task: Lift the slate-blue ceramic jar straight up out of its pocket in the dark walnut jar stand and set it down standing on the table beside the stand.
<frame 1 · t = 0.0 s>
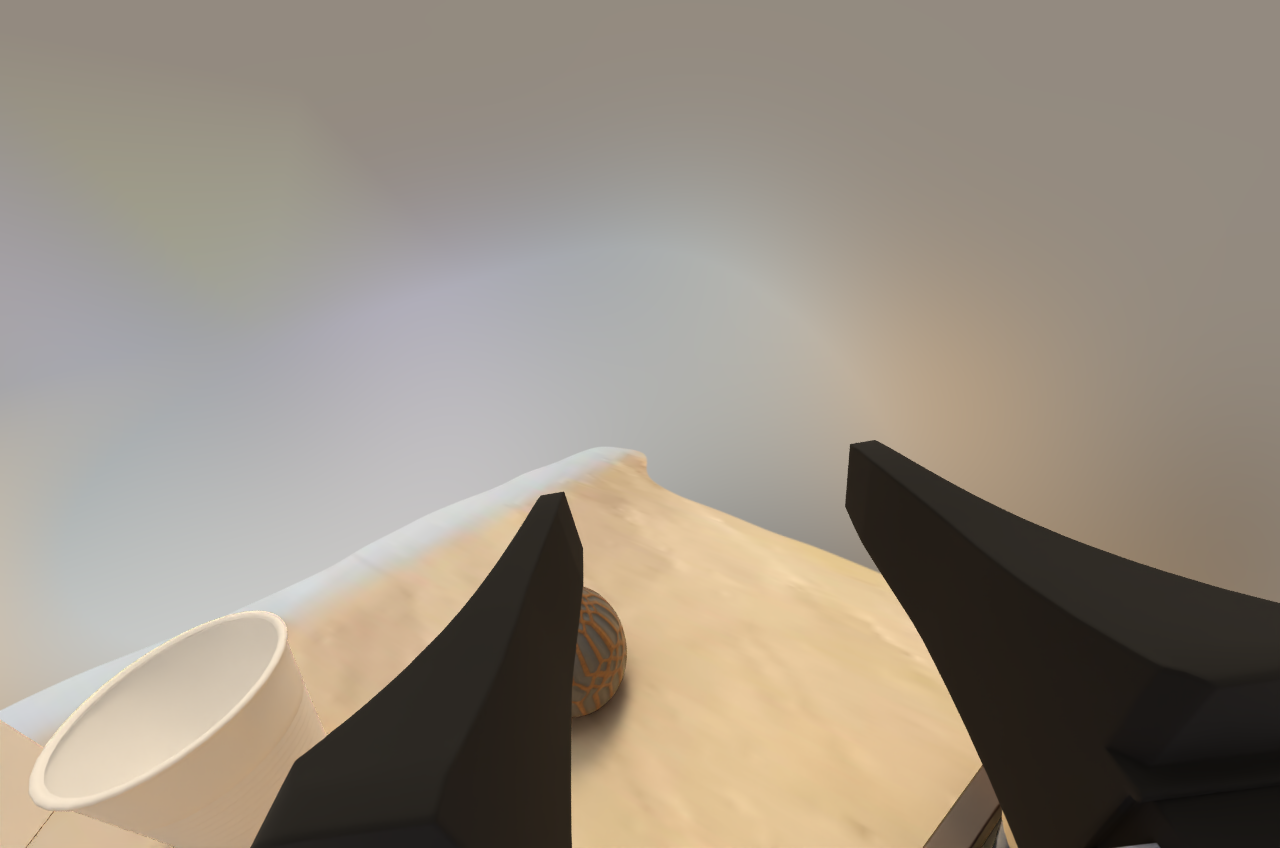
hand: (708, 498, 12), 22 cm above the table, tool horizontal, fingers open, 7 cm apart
cup: (286, 806, 28), on the table
vase: (585, 685, 32), on the table
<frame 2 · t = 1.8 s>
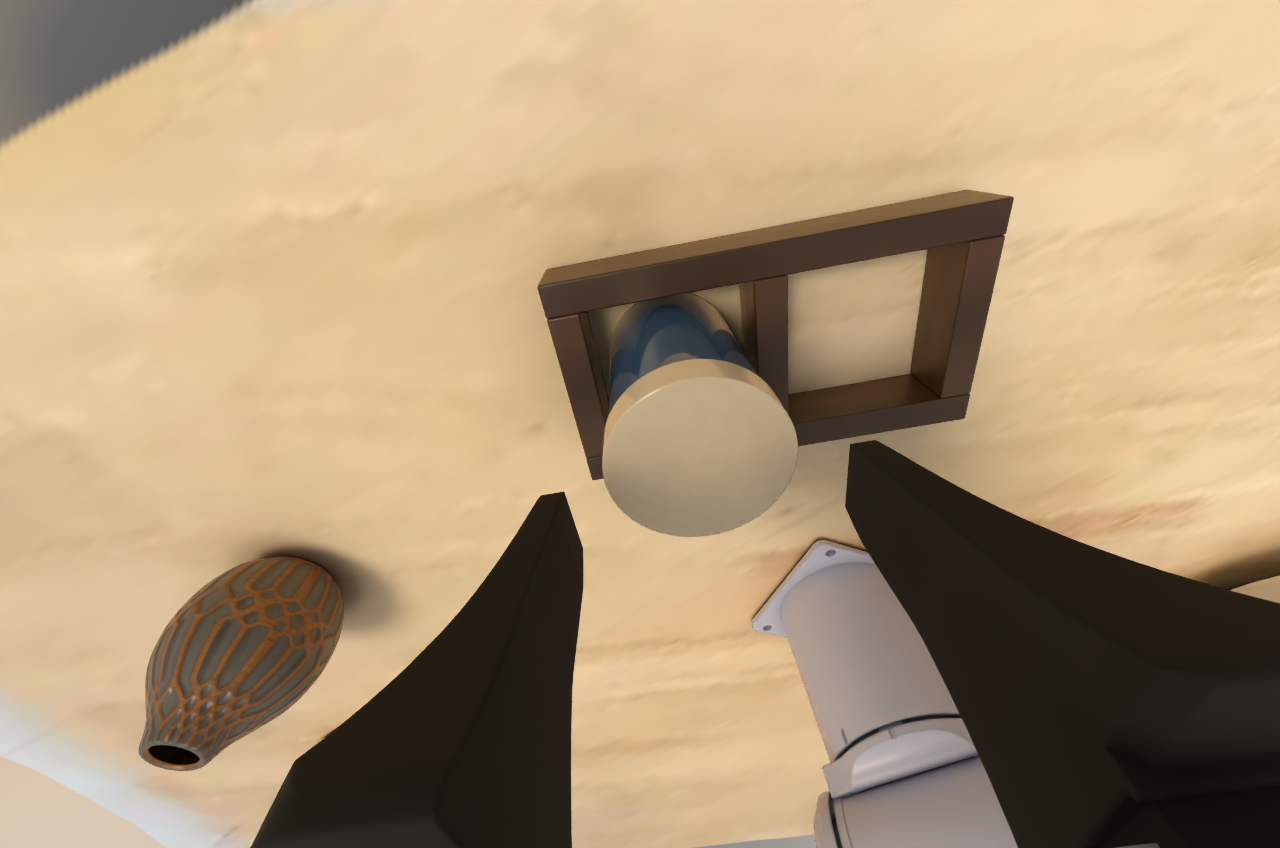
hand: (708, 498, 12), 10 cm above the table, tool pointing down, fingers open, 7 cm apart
vase: (299, 578, 26), on the table
serving bowl: (1213, 625, 33), on the table
jar stand: (756, 336, 20), on the table
jar: (670, 351, 20), resting in jar stand
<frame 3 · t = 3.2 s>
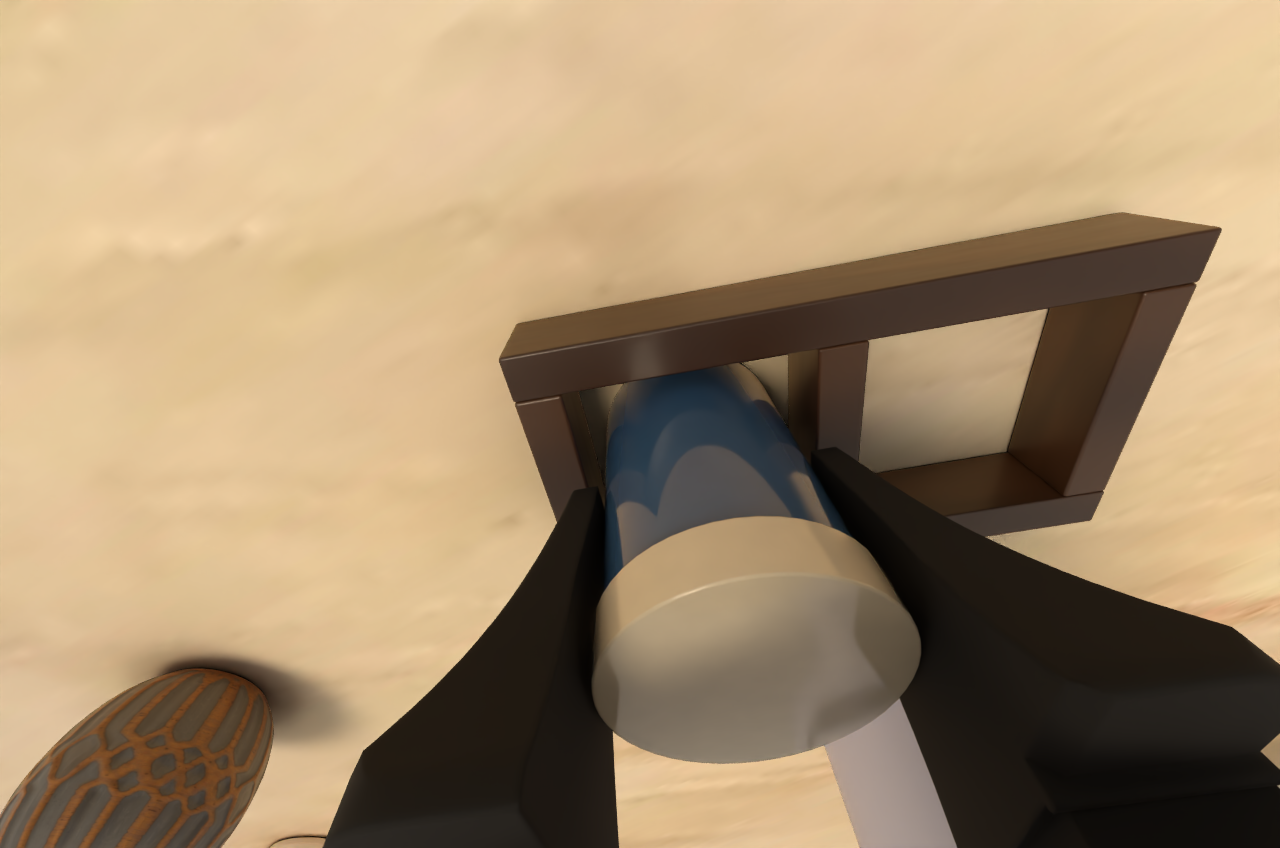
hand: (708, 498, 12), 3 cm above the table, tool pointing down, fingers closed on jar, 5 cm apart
vase: (220, 688, 21), on the table
jar stand: (806, 407, 15), on the table
jar: (689, 427, 15), resting in jar stand, touching gripper
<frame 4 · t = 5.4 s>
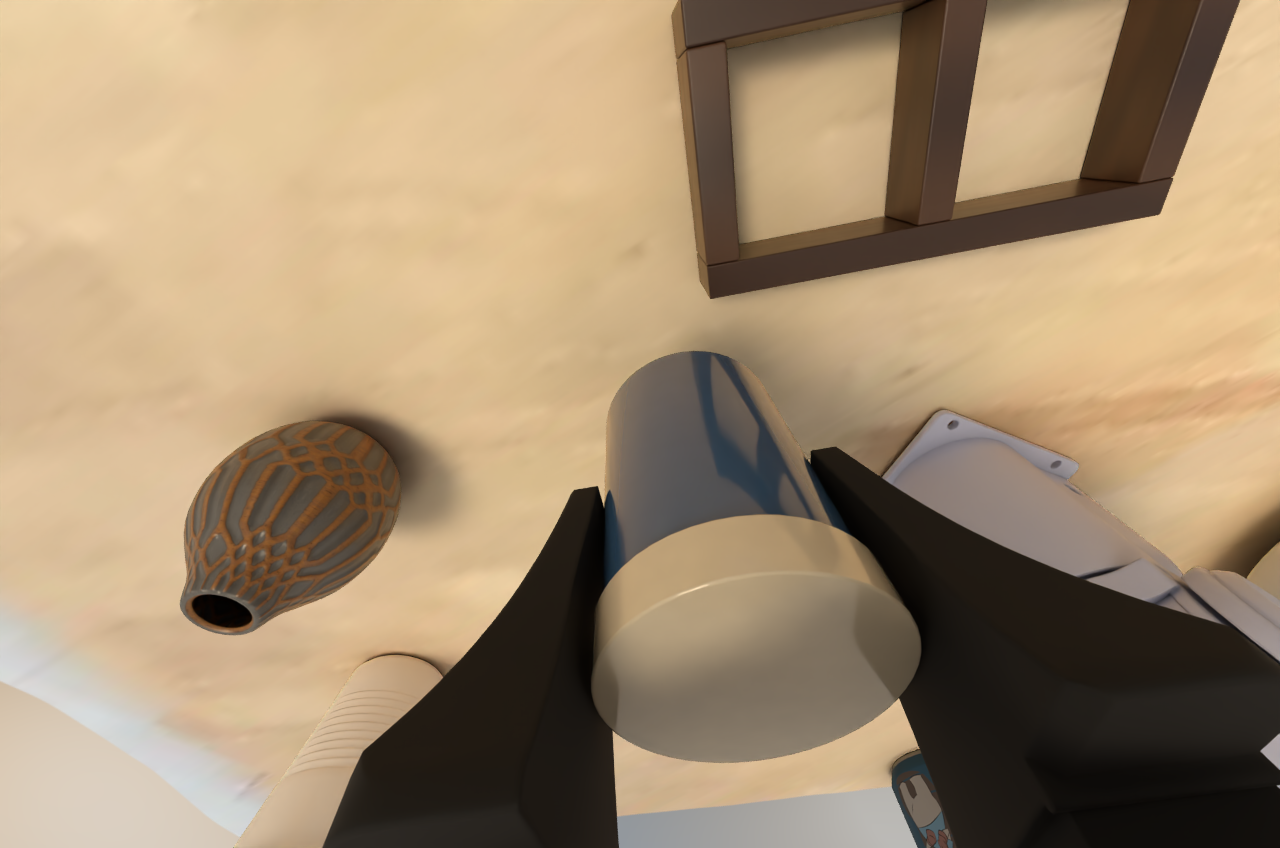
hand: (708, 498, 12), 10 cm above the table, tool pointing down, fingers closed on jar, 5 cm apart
cup: (403, 675, 33), on the table
vase: (348, 457, 23), on the table
soda can: (921, 760, 44), on the table
jar stand: (909, 120, 17), on the table
jar: (688, 427, 15), point 7 cm above the table, touching gripper
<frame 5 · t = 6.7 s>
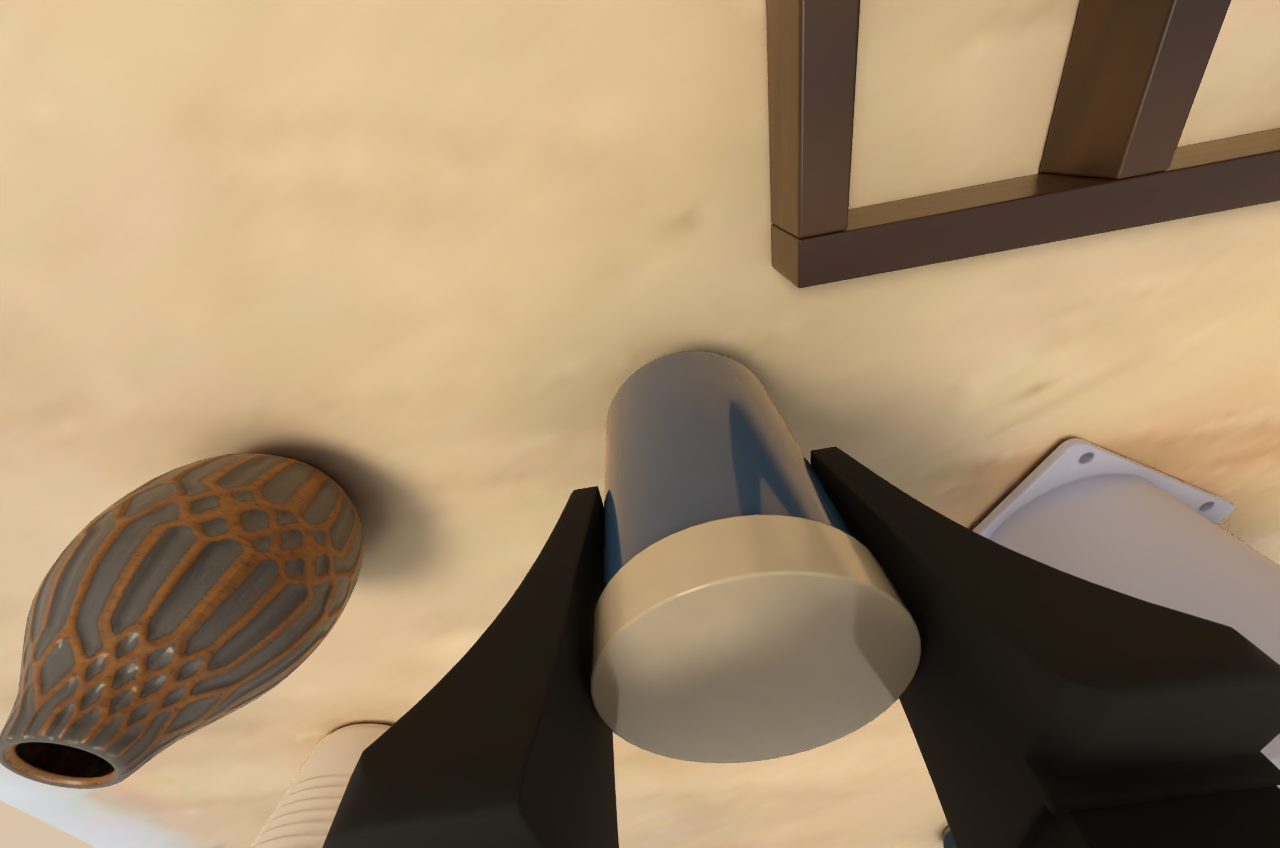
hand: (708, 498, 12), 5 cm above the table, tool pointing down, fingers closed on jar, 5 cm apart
cup: (379, 743, 27), on the table
vase: (297, 496, 18), on the table
jar stand: (1097, 25, 11), on the table
jar: (688, 427, 15), point 2 cm above the table, touching gripper
when the fingers open (3 cm above the table, at t = 7.8 s): jar stays where it is, on the table.
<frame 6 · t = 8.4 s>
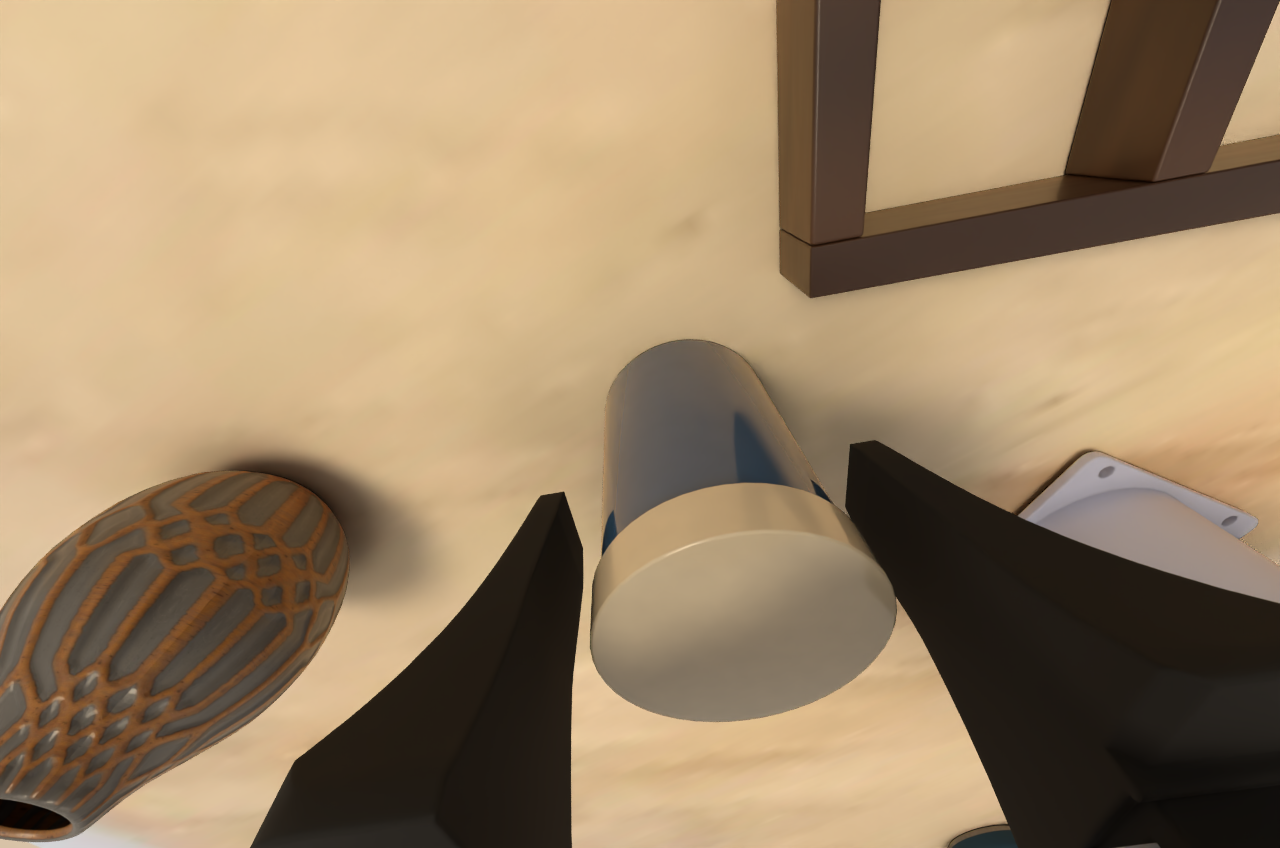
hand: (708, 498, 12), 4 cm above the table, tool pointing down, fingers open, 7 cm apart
vase: (280, 513, 17), on the table
soda can: (983, 836, 38), on the table
jar stand: (1131, 16, 11), on the table
jar: (684, 413, 15), on the table
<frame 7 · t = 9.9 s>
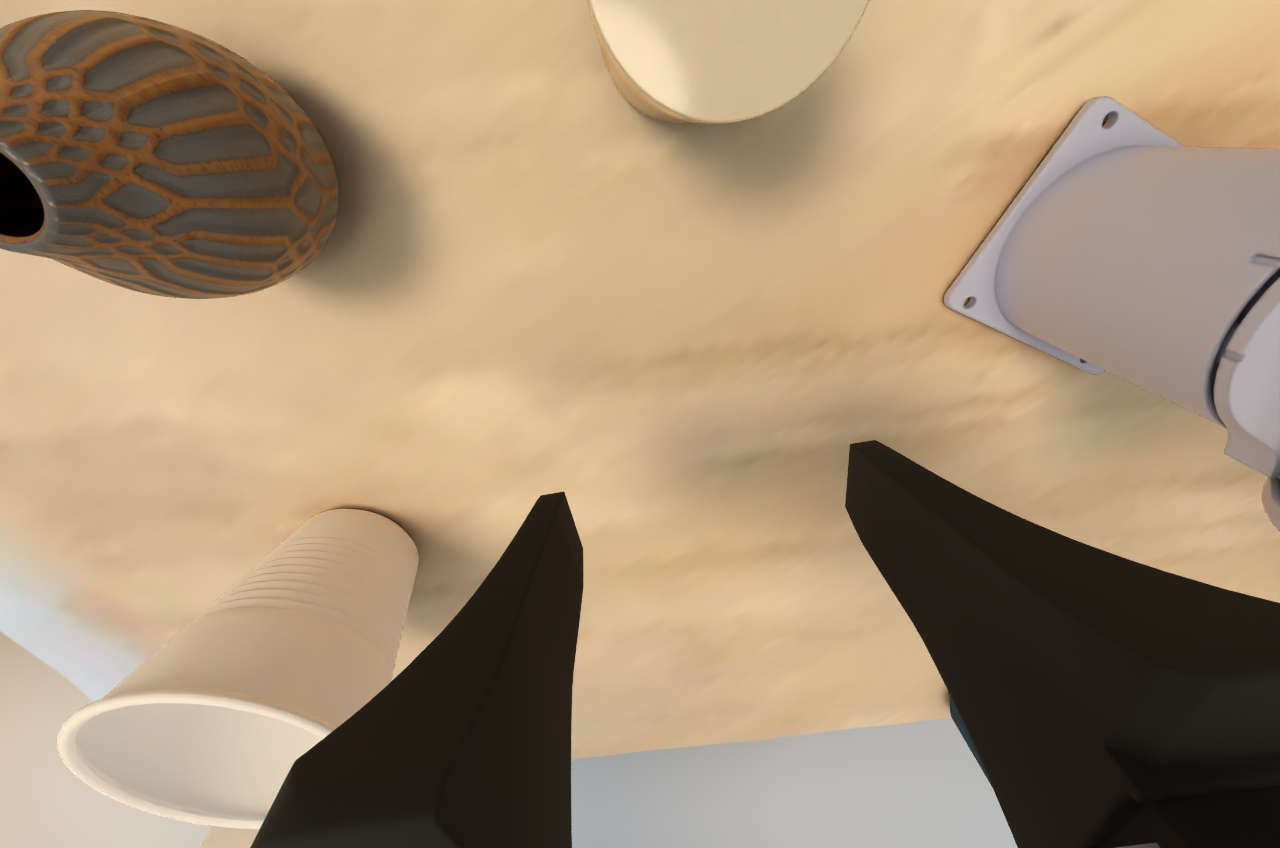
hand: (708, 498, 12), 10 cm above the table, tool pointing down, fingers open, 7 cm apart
cup: (365, 543, 26), on the table
vase: (269, 164, 17), on the table
soda can: (984, 683, 37), on the table
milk: (376, 741, 37), on the table
jar: (679, 27, 15), on the table
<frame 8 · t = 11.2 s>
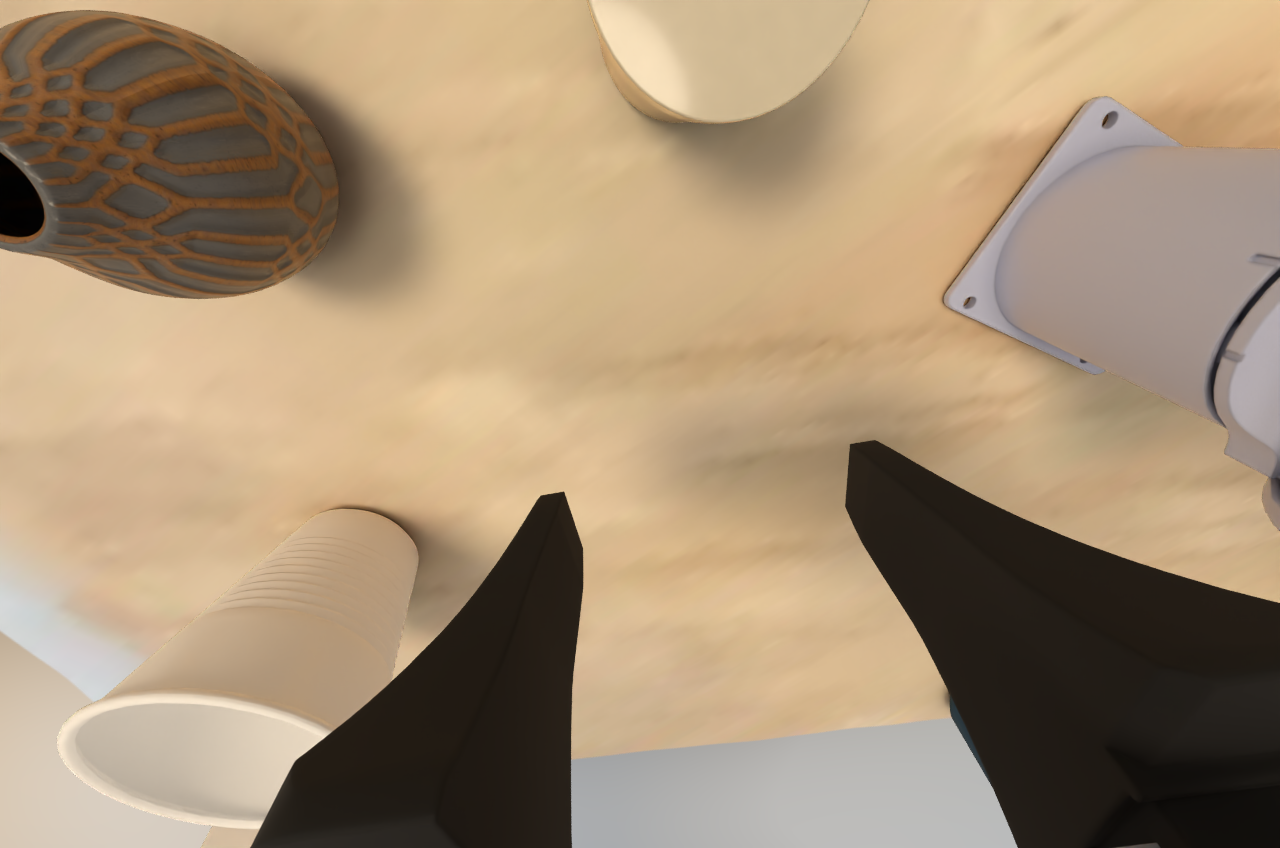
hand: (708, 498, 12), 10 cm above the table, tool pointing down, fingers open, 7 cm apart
cup: (365, 543, 26), on the table
vase: (269, 164, 17), on the table
soda can: (984, 683, 37), on the table
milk: (376, 741, 37), on the table
jar: (679, 27, 15), on the table
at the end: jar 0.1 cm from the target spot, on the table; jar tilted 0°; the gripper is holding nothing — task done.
